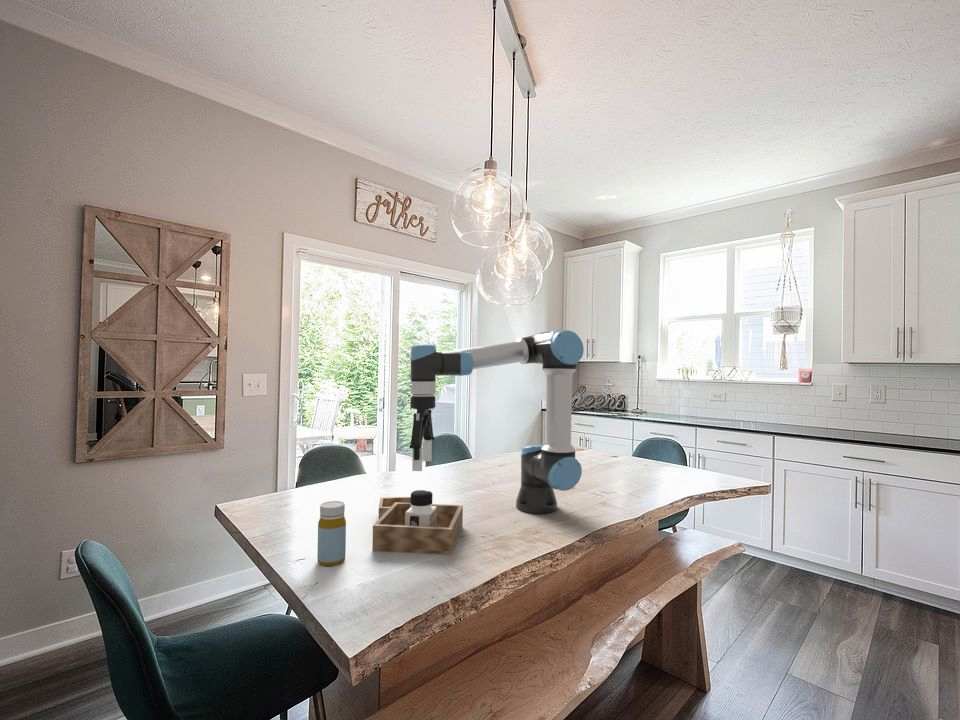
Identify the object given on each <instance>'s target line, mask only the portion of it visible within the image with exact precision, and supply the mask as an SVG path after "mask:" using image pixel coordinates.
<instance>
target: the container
mask: <svg viewBox="0 0 960 720" xmlns="http://www.w3.org/2000/svg"><path fill="white" fill-rule="evenodd" d="M410 497H411V507H410V508H409V509H408V510H407V511H406V512H405V526H424V527H437V507H436V506H432V504H433V492H432V491H431V490H428V489H417V490H414V491H412V492H411V493H410Z"/></svg>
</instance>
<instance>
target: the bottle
mask: <svg viewBox="0 0 960 720" xmlns="http://www.w3.org/2000/svg"><path fill="white" fill-rule="evenodd" d="M345 506H346V504H345V502H343V501H339V500H331V501H325V502H322V503H321V504H320V505H319V520H318V523H317V554H316V555H317V556H316V557H317V563H318V564H319V565H320V566H323V567H334V566H339V565H340V564H342V563H343V562H344V561H345V559H346V552H347V551H346V547H347V546H346V545H347V544H346V541H347V539H346V538H347V520H346V517H345Z"/></svg>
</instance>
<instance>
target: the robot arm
mask: <svg viewBox="0 0 960 720" xmlns="http://www.w3.org/2000/svg"><path fill="white" fill-rule="evenodd" d="M584 352H585V351H584V343H583V340H582V339H581V337H580V336H579V335H578V334H577V333H576V332H575V331H572V330H568V329H567V330H566V329H558V330H551V331H544V332H540V333H535V334H533V335H528V336H525V337H519V338H517V339H516V340H515V341H511V342H503V343H497V344H496V343H495V344H488V345H484V346H476V347H475V346H474V347H468V348H462V349H456V350H454V349H453V350H447V351H440V350H437V346H436V345H435V344H429V343H428V344H427V343H426V344H425V343H422V344H413V345H412V346H411V349H410V359H409V360H410V384H408V387H409V388H410V394H411V396H410V397H409V398H410V400H409V401H410V406H409V407H410V408H411V409H412V410H416V412H414V413H413V415H412V416H413V422H412V431H411V440H410V444H409V446H408V447H409V449H412V458H411V459H412V465H411V466H412V469H411V470H412V472H423V462H432V461H433V458H432V457H433V456H432V455H433V452H432V451H433V449H432V447H433V446H432V445H433V441H434V440H435V436H434V430H433V421H432V419H433V418H432V410H433V409H435V408H436V396H435V394H437V393H436V391H437V390H436V387H437V386H436V384H437V383H436V381H437V379H436V377H437V376H445V377H446V376H447V377H448V376H449V377H450V376H451V377H453V376H455V377H457V376H459V377H462V376H463V377H464V376H470V375H471V374H472V373H473V370H477V369H483V368H485V369H486V368H490V367H497V366H502V365H509V364H517V363H519V364H521V365H526V364H527V365H528V364H542V370H543V372H544V373H545V374H546V406H545V407H546V408H545V410H546V411H545V412H546V413H545V444H530V445H528V444H527V445H524V446H522V448H521V452H520V458H521V460H520V487H519V491H518V494H517V496H516V500H515V507H516V508H517V510H519V511H521V512H523V513H524V512H525V513H529V514H550V513H553V512H556V511H557V510H558V501H557V498H556V495H555V491H554V490H558V491H562V492H566V491H570V490H572V489H574V488H575V487H576V485H577V484H579V482H580V480H581V477H582V474H583V472H582V471H583V470H582V469H583V468H582V465H581V463H580V462H579V460H578V459H577V458H576V448H575V447H574V446H573V445H572V407H573V406H572V404H573V403H572V401H573V400H572V397H573V390H572V389H573V387H572V386H573V375H574V373H575V372H576V371H577V366H578V365H577V364H578V363H579V362H580V361H581V359H582V358H583V356H584Z"/></svg>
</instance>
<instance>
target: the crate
mask: <svg viewBox="0 0 960 720" xmlns="http://www.w3.org/2000/svg"><path fill="white" fill-rule="evenodd" d="M432 506H436V507H437V527H424V526H405V512H406V511H407V510H408V509H409V508H410V507H411V503H400V502H395V503H394V504H393V505H392V506H391V507H390V508H389V509H388V510H387V511H386V512H385V513H384V514H383V515H382V517H381V518H380V519H379V518H378V519H379V520H377V521H375V523H374V524H373V525H372V545H371V546H372V552H376V551H377V552H390V553H408V554H409V553H410V554H411V553H412V554H423V555H424V554H427V555H428V554H429V555H443V556H444V555H447V556H452V555H453V552H454V550H455V547H456V544H457V542H458V540H459V538H460V535H461V532H462V529H463V525H464V524H463V521H464V520H463V519H464V517H463V516H464V513H463V512H464V509H463V508H464V505H463V504H441V503H432ZM397 507H401V522H397Z"/></svg>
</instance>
